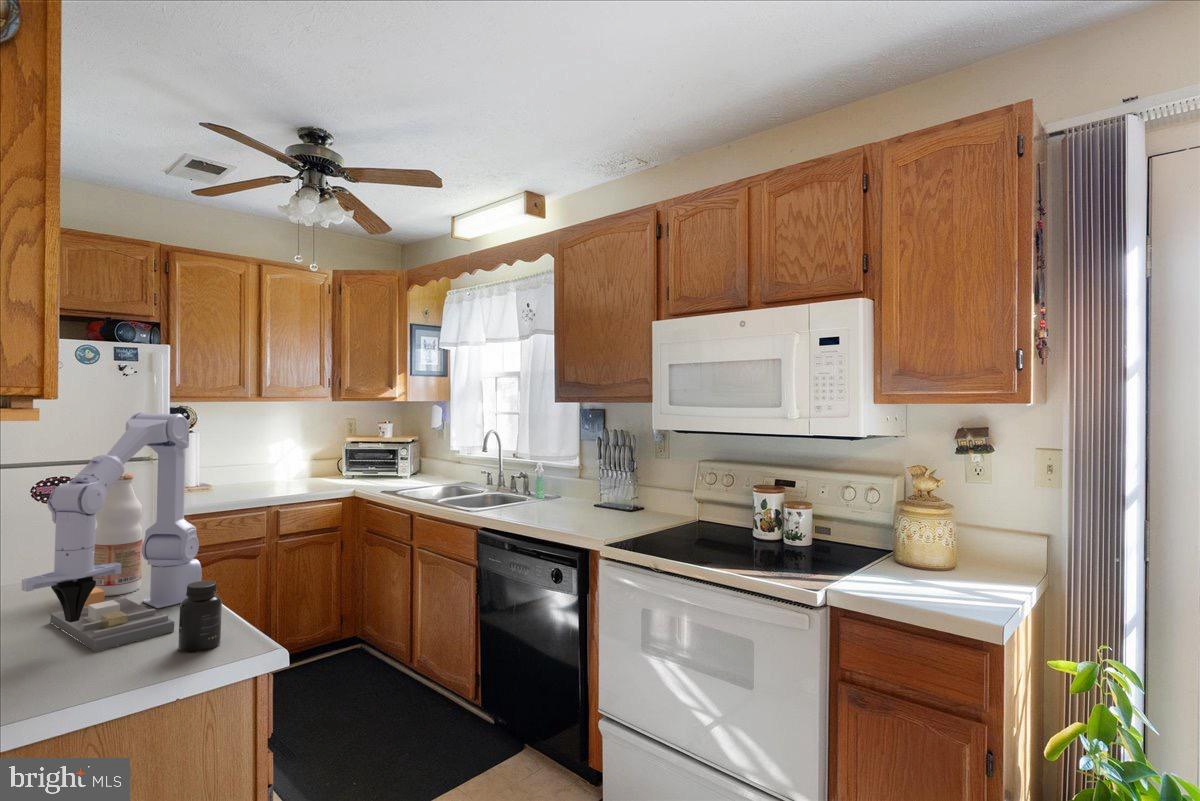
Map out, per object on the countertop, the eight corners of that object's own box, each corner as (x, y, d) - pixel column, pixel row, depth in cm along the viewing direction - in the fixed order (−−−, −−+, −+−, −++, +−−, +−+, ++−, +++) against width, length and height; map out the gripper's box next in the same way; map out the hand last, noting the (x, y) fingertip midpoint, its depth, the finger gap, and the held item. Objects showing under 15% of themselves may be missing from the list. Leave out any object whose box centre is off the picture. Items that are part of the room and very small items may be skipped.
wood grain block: (118, 622, 124) (119, 610, 124) (127, 627, 122) (127, 614, 122) (100, 626, 122) (101, 614, 122) (108, 631, 119) (109, 619, 119)
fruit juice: (82, 597, 145) (86, 476, 145) (105, 585, 154) (108, 472, 154) (129, 595, 147) (133, 477, 147) (148, 584, 156) (152, 472, 156)
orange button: (97, 599, 134) (97, 587, 134) (104, 602, 132) (104, 591, 132) (73, 603, 131) (74, 591, 131) (80, 607, 129) (81, 595, 129)
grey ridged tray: (125, 607, 139) (125, 593, 139) (174, 631, 126) (174, 616, 126) (50, 623, 129) (50, 608, 129) (95, 651, 115) (95, 635, 115)
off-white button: (111, 612, 130) (112, 600, 130) (119, 616, 128) (120, 603, 128) (88, 617, 126) (88, 604, 126) (95, 621, 124) (96, 609, 124)
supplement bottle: (169, 650, 117) (171, 586, 117) (203, 637, 123) (205, 576, 123) (195, 656, 115) (197, 590, 115) (229, 643, 121) (231, 581, 121)
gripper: (109, 538, 125) (106, 606, 125) (15, 551, 112) (12, 627, 112) (127, 542, 121) (125, 612, 121) (33, 557, 109) (30, 635, 108)
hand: (72, 620), depth 116 cm, fingers closed
